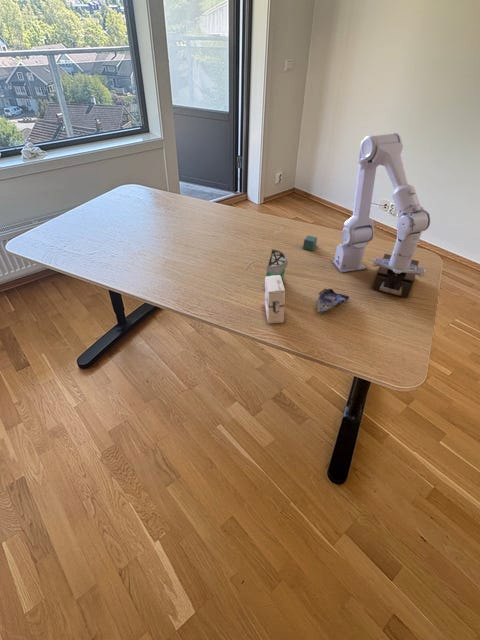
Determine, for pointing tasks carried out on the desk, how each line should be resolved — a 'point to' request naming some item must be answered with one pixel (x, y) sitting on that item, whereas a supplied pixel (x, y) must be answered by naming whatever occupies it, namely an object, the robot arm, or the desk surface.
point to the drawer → (383, 285)
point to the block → (310, 243)
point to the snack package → (329, 300)
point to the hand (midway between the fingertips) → (391, 289)
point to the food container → (277, 263)
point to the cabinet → (408, 276)
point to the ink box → (274, 299)
